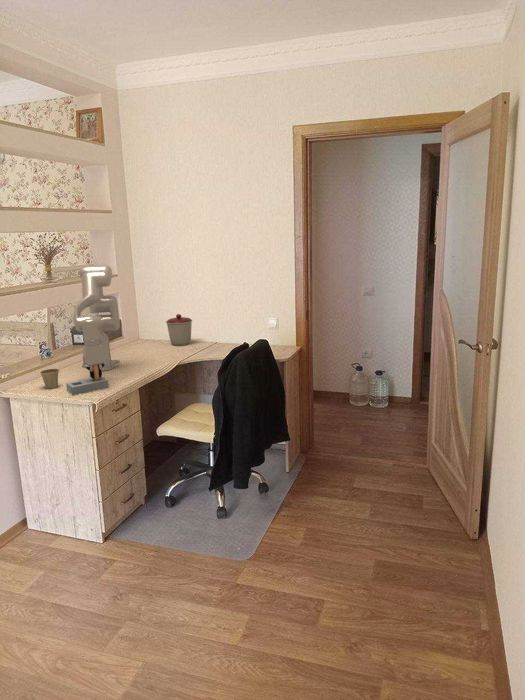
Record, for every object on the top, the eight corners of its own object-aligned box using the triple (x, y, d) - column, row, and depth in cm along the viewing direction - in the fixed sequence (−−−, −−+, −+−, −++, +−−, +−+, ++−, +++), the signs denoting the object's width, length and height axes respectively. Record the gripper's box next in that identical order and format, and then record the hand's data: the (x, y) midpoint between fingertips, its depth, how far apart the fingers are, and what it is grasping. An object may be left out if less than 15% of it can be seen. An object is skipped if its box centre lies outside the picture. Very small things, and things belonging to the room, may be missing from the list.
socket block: (101, 383, 281) (100, 376, 280) (108, 387, 273) (107, 380, 272) (67, 390, 271) (66, 383, 270) (73, 395, 263) (72, 387, 262)
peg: (98, 382, 276) (96, 361, 274) (100, 383, 274) (98, 362, 271) (93, 383, 274) (90, 362, 272) (95, 384, 272) (92, 363, 270)
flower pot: (38, 388, 277) (36, 372, 275) (54, 383, 285) (51, 367, 283) (49, 390, 272) (47, 374, 270) (65, 385, 280) (62, 369, 278)
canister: (199, 342, 369) (197, 312, 364) (182, 348, 354) (180, 317, 349) (179, 340, 378) (177, 311, 374) (162, 345, 364) (159, 315, 359)
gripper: (105, 339, 277) (108, 373, 281) (73, 344, 268) (78, 379, 272) (110, 341, 271) (114, 375, 275) (78, 346, 262) (82, 382, 266)
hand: (96, 377), depth 273 cm, fingers closed on peg, 3 cm apart
